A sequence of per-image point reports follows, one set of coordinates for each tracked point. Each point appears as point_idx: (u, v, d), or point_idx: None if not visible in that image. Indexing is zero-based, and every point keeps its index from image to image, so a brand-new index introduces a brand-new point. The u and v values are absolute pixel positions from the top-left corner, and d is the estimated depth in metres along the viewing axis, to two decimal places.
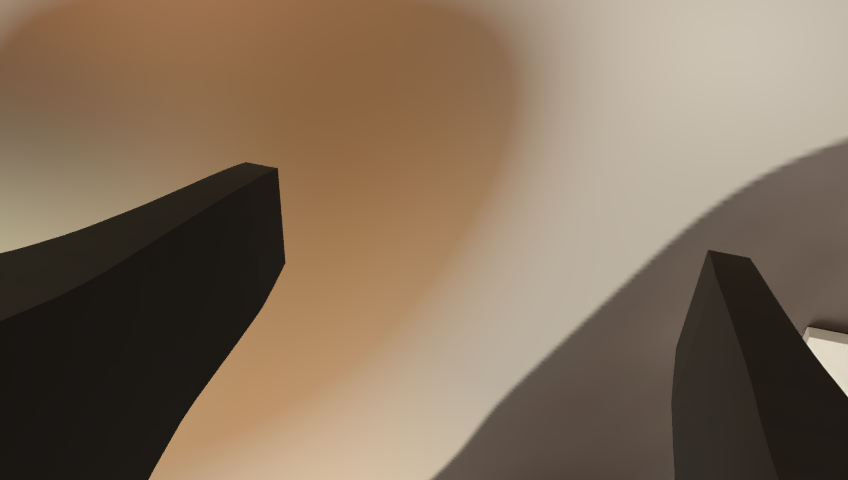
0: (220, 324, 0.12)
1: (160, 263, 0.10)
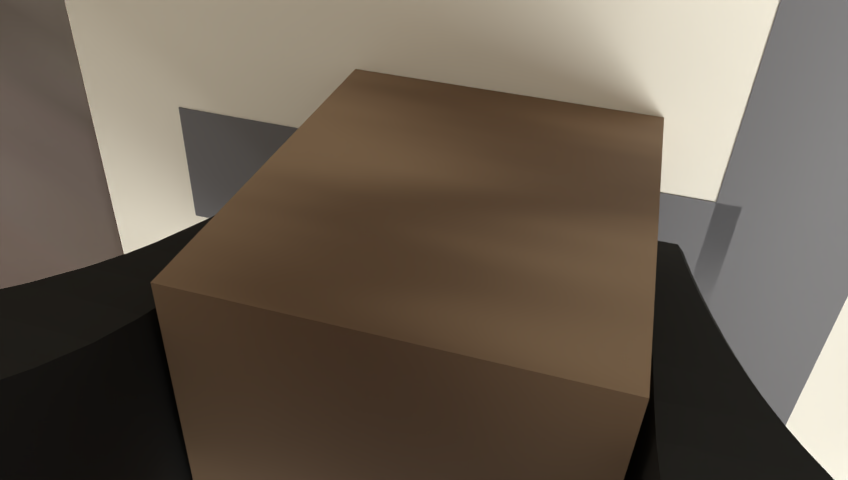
0: None
1: None
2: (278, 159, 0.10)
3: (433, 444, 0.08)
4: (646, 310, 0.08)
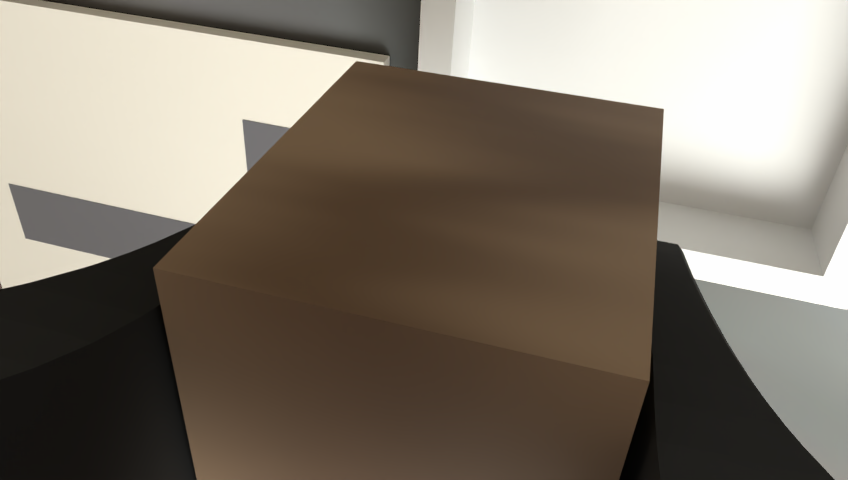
0: None
1: None
2: (280, 148, 0.10)
3: (434, 429, 0.08)
4: (646, 297, 0.08)
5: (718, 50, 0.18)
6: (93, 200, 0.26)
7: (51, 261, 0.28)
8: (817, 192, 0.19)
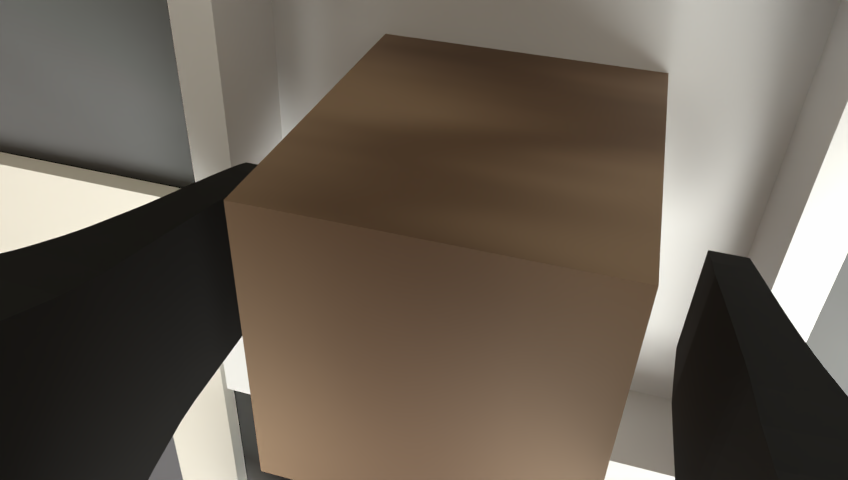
0: (220, 324, 0.12)
1: (160, 263, 0.10)
2: (324, 106, 0.11)
3: (470, 341, 0.09)
4: (655, 222, 0.09)
5: None
6: None
7: None
8: None
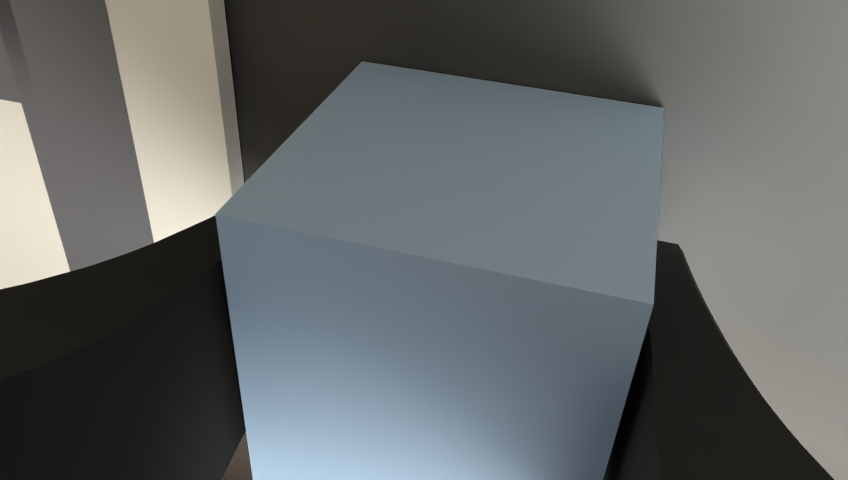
0: None
1: None
2: None
3: None
4: None
5: None
6: None
7: None
8: None
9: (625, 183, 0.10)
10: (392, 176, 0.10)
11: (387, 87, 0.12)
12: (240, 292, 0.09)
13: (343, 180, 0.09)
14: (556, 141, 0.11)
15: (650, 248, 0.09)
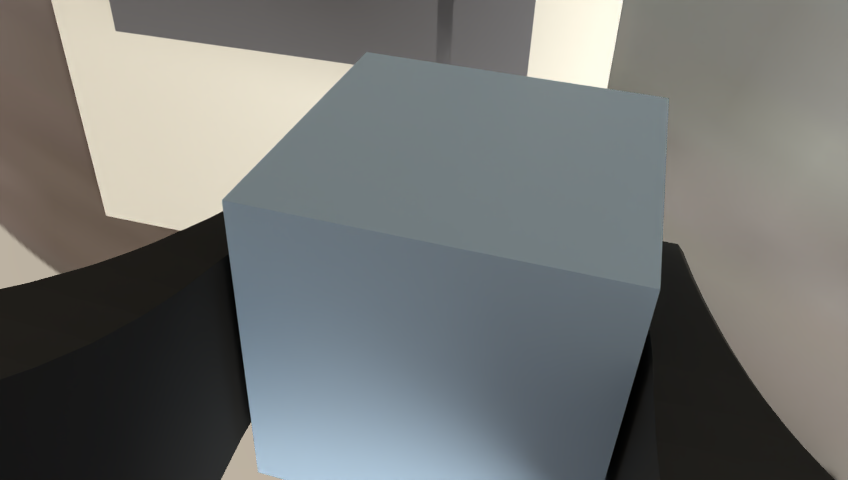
0: None
1: (228, 279, 0.10)
2: None
3: None
4: None
5: None
6: None
7: (148, 63, 0.22)
8: None
9: (631, 171, 0.10)
10: (399, 164, 0.10)
11: (392, 77, 0.12)
12: (246, 279, 0.09)
13: (349, 167, 0.09)
14: (560, 130, 0.11)
15: (656, 235, 0.09)
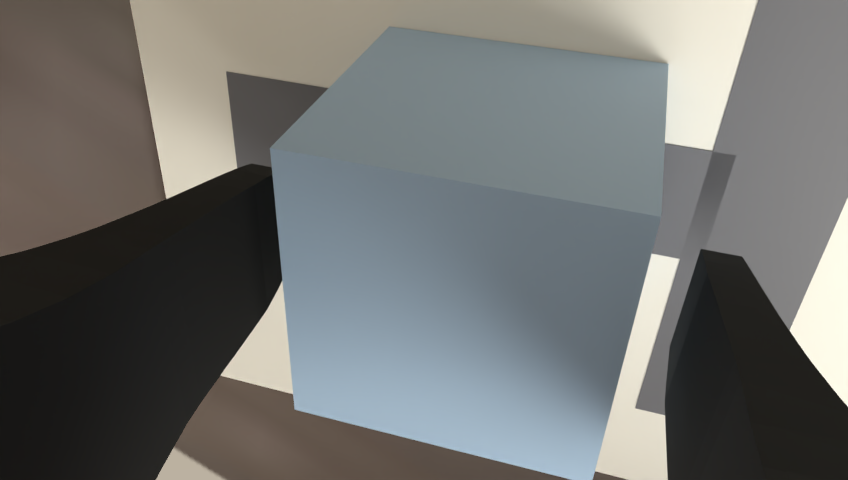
0: (226, 326, 0.12)
1: (167, 265, 0.10)
2: None
3: None
4: None
5: None
6: None
7: None
8: None
9: (634, 124, 0.11)
10: (425, 119, 0.11)
11: (414, 47, 0.13)
12: (289, 222, 0.10)
13: (380, 121, 0.11)
14: (570, 91, 0.12)
15: (657, 174, 0.10)
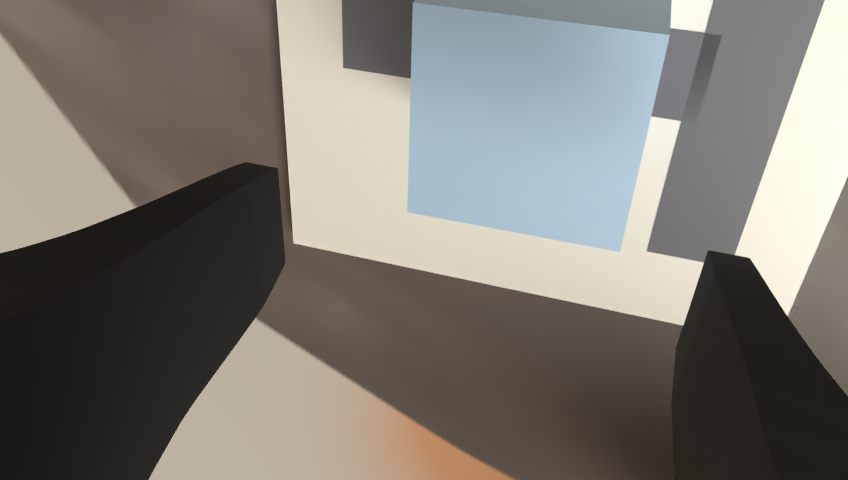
0: (220, 324, 0.12)
1: (160, 263, 0.10)
2: None
3: None
4: None
5: None
6: None
7: (371, 100, 0.22)
8: None
9: None
10: None
11: None
12: (420, 58, 0.16)
13: None
14: None
15: (667, 17, 0.15)
